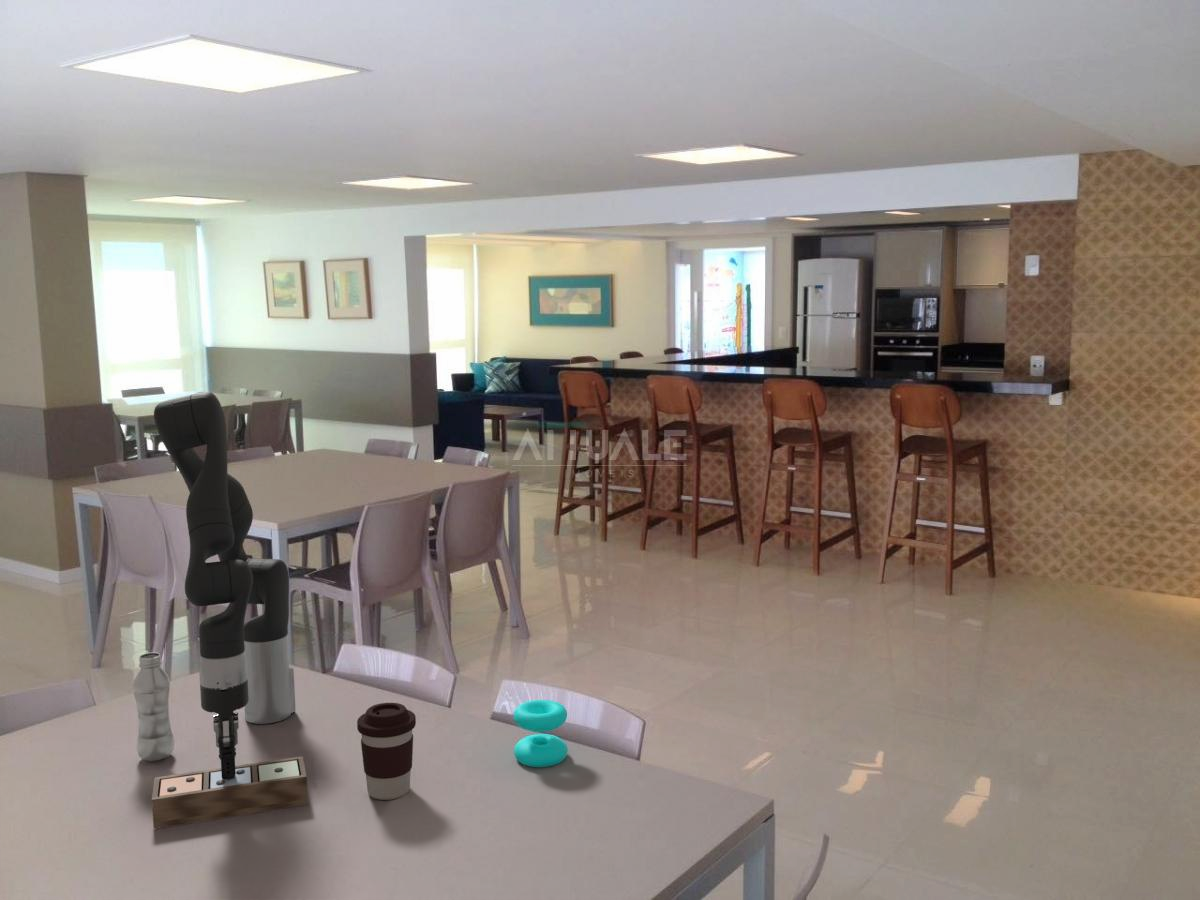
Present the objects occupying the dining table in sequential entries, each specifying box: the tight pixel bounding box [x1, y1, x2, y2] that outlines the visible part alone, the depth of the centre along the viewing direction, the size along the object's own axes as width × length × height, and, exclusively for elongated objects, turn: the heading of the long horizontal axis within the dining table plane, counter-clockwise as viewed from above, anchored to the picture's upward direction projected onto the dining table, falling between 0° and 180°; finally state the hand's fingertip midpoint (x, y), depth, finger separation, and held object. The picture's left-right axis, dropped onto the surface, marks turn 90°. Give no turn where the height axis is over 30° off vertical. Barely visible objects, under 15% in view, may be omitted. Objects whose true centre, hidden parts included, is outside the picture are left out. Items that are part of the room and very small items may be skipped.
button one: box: [259, 760, 299, 782], centre depth 179 cm, size 6×6×3 cm
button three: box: [210, 767, 251, 789], centre depth 177 cm, size 6×6×3 cm
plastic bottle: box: [132, 651, 175, 762], centre depth 195 cm, size 6×7×20 cm
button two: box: [159, 774, 203, 797], centre depth 174 cm, size 6×6×3 cm
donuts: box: [513, 699, 569, 768], centre depth 195 cm, size 10×10×10 cm
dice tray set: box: [151, 755, 309, 829], centre depth 177 cm, size 24×9×5 cm, turn 110°
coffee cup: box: [356, 702, 417, 801], centre depth 181 cm, size 10×10×15 cm
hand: (228, 777), depth 176 cm, fingers closed
